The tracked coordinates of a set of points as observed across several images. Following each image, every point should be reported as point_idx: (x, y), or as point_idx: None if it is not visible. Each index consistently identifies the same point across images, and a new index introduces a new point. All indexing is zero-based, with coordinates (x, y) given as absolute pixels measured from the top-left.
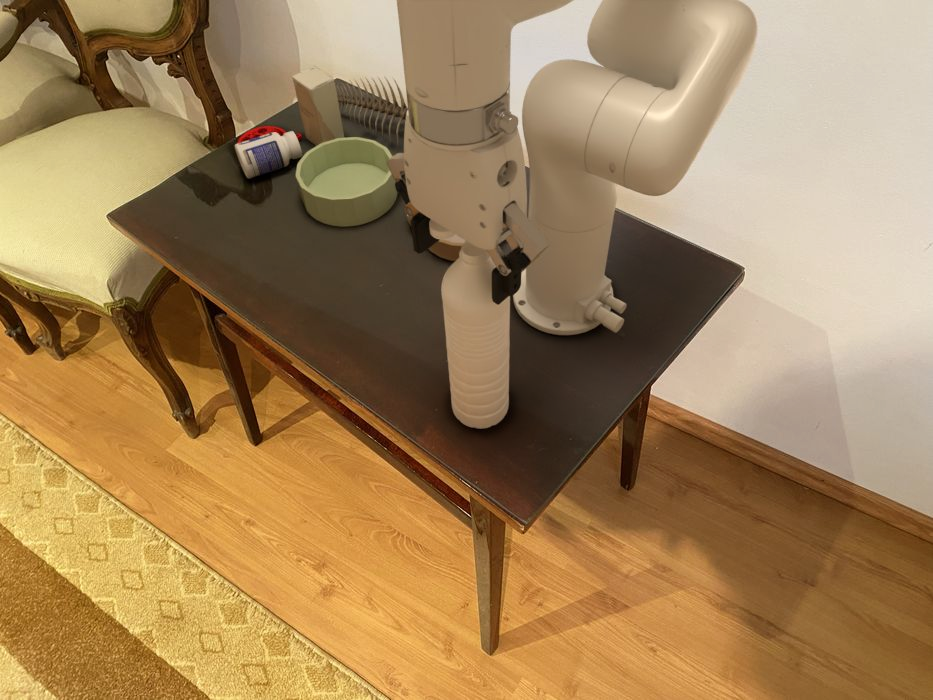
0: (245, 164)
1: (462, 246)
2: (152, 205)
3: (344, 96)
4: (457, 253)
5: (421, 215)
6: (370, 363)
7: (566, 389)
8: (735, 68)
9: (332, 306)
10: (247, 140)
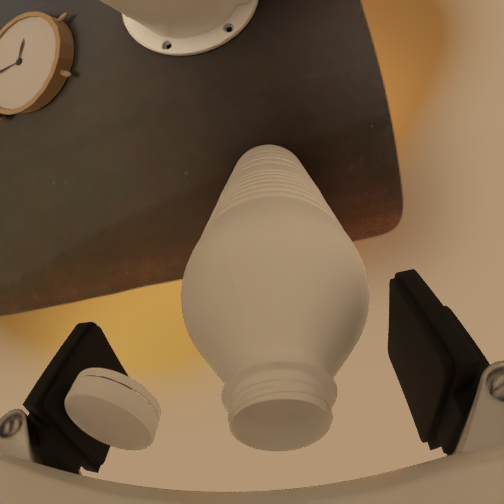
0: None
1: (246, 442)
2: None
3: None
4: (55, 84)
5: (78, 463)
6: (143, 248)
7: (315, 79)
8: None
9: (60, 241)
10: None
